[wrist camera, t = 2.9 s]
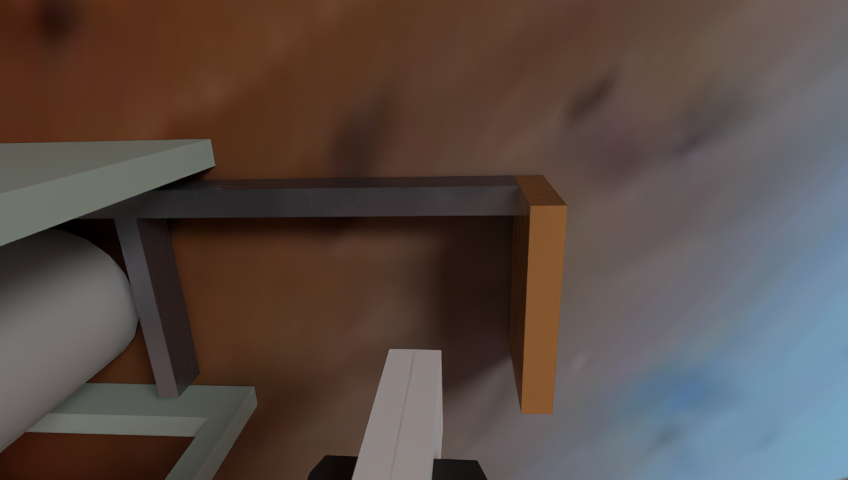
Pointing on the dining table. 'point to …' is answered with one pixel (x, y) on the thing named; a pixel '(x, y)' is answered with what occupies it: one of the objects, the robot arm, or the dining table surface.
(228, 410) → the tunnel
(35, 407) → the can
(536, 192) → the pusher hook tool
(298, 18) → the dining table surface
